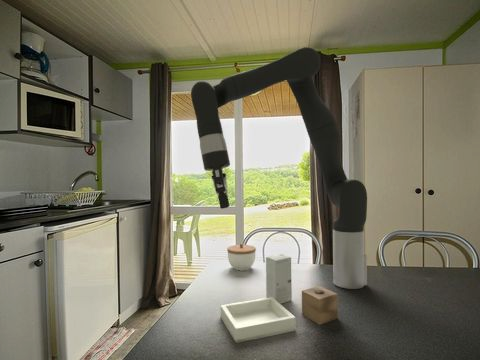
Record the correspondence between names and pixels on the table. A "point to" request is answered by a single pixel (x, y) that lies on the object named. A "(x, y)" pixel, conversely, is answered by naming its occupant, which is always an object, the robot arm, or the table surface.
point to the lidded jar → (241, 256)
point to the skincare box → (279, 278)
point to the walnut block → (319, 304)
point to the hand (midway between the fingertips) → (225, 207)
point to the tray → (257, 319)
